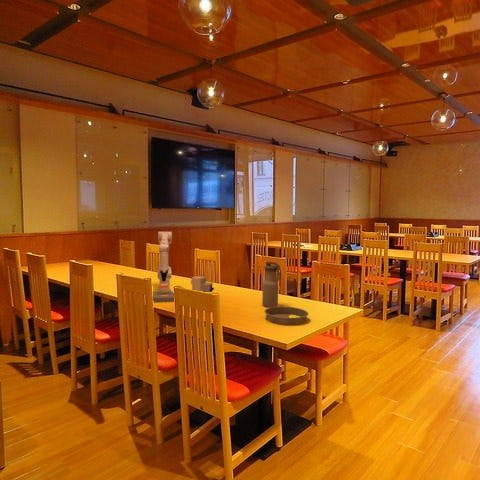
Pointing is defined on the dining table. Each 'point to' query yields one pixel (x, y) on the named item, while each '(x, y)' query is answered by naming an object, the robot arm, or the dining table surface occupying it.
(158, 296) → the panel
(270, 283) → the water bottle
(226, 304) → the dining table surface
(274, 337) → the dining table surface
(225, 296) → the dining table surface
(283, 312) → the cake pan
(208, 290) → the circuit breaker
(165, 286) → the toggle lever
